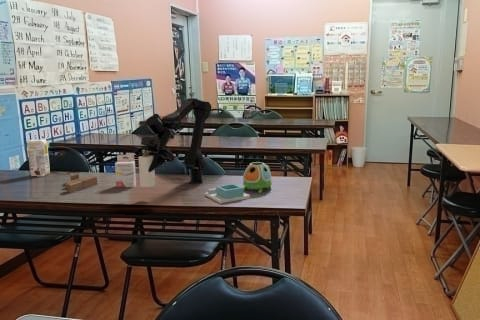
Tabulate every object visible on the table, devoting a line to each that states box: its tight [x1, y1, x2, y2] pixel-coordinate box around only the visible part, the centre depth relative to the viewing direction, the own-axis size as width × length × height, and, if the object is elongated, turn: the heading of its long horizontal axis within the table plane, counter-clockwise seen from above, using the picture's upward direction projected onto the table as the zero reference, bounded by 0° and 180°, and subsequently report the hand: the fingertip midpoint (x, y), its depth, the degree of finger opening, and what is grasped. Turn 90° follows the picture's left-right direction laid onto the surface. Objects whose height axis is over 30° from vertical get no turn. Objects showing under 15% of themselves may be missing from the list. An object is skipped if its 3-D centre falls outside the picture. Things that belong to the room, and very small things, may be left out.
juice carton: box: [26, 138, 51, 177], centre depth 230 cm, size 8×9×19 cm
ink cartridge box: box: [114, 154, 137, 189], centre depth 203 cm, size 9×5×15 cm, turn 92°
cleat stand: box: [204, 183, 251, 204], centre depth 184 cm, size 14×14×5 cm
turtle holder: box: [242, 161, 273, 194], centre depth 196 cm, size 12×18×12 cm
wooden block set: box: [64, 172, 98, 194], centre depth 205 cm, size 17×6×18 cm
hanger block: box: [137, 152, 156, 189], centre depth 180 cm, size 4×4×14 cm
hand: (144, 171), depth 179 cm, fingers closed on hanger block, 4 cm apart
